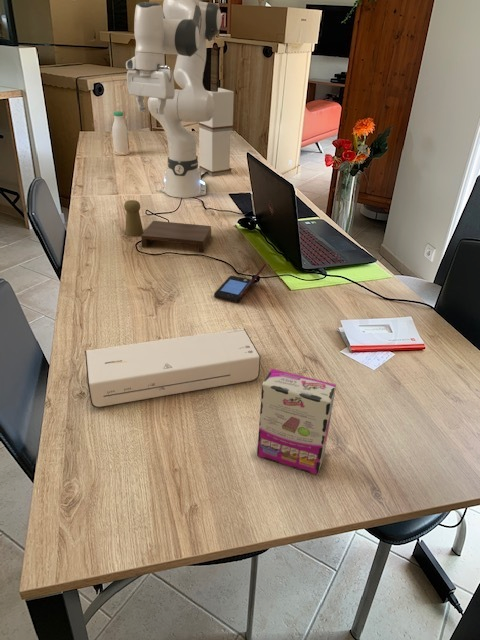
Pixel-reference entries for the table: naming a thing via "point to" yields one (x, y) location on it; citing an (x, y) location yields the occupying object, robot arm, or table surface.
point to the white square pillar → (217, 135)
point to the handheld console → (235, 288)
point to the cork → (133, 218)
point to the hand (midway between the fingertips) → (150, 113)
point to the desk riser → (177, 233)
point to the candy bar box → (294, 420)
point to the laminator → (170, 367)
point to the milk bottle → (120, 134)
